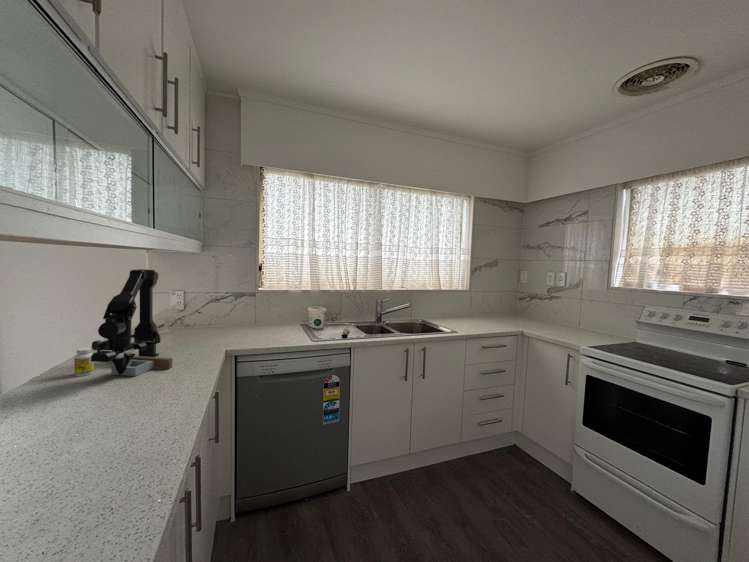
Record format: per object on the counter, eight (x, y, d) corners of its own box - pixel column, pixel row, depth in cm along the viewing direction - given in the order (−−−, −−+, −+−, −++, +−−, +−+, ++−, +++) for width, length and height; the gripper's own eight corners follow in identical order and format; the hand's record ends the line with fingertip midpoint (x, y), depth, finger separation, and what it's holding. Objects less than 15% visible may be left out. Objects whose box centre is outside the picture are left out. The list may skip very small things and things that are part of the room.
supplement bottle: (97, 371, 122) (97, 347, 121) (86, 376, 117) (86, 351, 116) (81, 371, 121) (81, 347, 121) (70, 376, 116) (70, 350, 115)
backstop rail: (121, 364, 131) (121, 355, 131) (172, 367, 130) (172, 358, 130) (116, 365, 129) (117, 356, 129) (168, 369, 128) (169, 359, 128)
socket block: (131, 366, 129) (131, 359, 128) (154, 367, 128) (154, 360, 128) (111, 374, 119) (111, 366, 119) (135, 376, 119) (135, 368, 119)
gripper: (121, 327, 127) (120, 365, 127) (76, 336, 108) (75, 381, 108) (148, 328, 126) (147, 367, 127) (107, 338, 108) (106, 383, 108)
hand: (120, 374), depth 117 cm, fingers closed
